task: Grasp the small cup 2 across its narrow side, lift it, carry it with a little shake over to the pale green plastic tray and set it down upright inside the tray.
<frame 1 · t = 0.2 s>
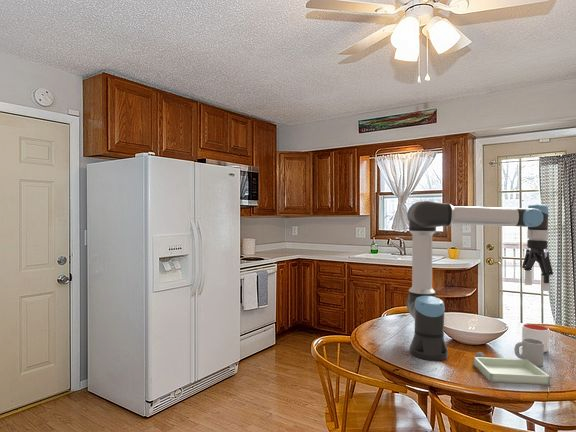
hand: (536, 287, 173), 27 cm above the table, fingers open, 13 cm apart
tray: (509, 374, 145), on the table
cup: (535, 350, 173), on the table
mixing ball: (480, 356, 158), point 2 cm above the table
cup 2: (528, 363, 157), on the table
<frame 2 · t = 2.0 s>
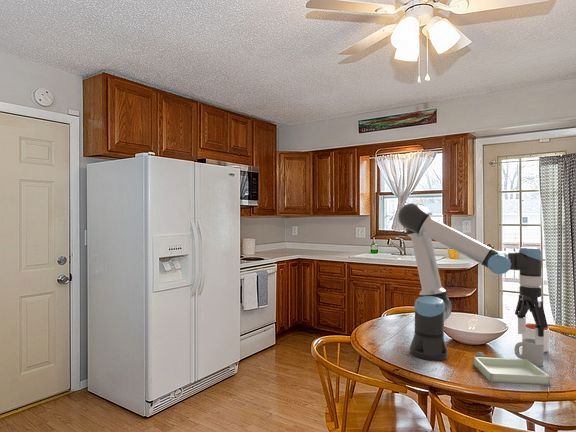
hand: (530, 339, 157), 10 cm above the table, fingers open, 13 cm apart
nothing on the table moved.
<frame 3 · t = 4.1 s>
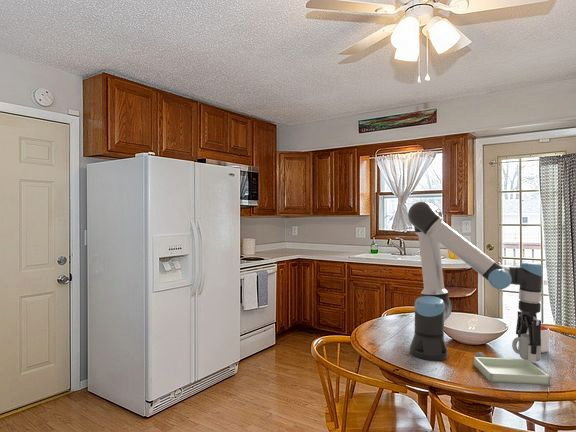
hand: (526, 357, 157), 2 cm above the table, fingers closed on cup 2, 7 cm apart
cup 2: (525, 358, 158), point 2 cm above the table, touching gripper
everything else where it was.
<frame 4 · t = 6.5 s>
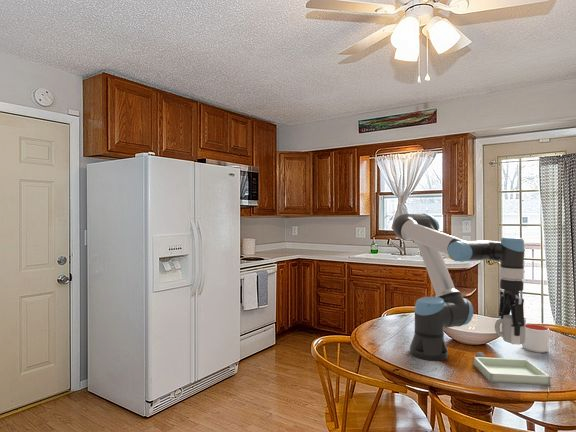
hand: (510, 340, 145), 13 cm above the table, fingers closed on cup 2, 7 cm apart
cup 2: (509, 341, 146), point 12 cm above the table, touching gripper
everything else where it was.
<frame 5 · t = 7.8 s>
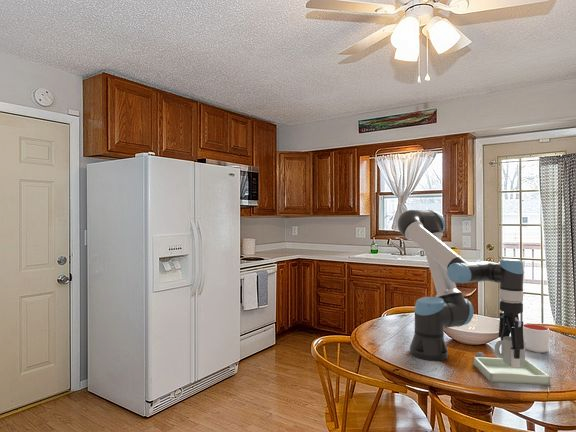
hand: (510, 362, 145), 4 cm above the table, fingers closed on cup 2, 7 cm apart
cup 2: (509, 363, 146), point 4 cm above the table, touching gripper
everything else where it was.
when the fingers open (2 cm above the table, at t = 8.8 s): cup 2 stays where it is, resting on tray.
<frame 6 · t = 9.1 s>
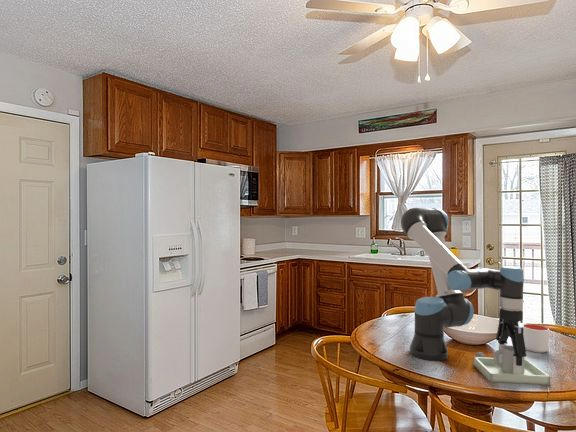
hand: (509, 367, 145), 3 cm above the table, fingers open, 11 cm apart
cup 2: (508, 372, 146), resting on tray
everything else where it was.
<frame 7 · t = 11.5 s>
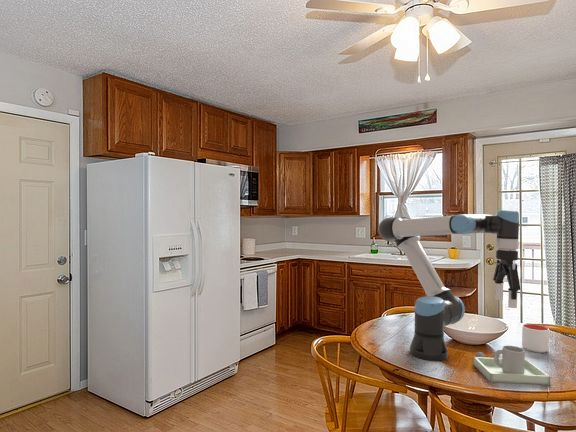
hand: (505, 303, 154), 24 cm above the table, fingers open, 13 cm apart
nothing on the table moved.
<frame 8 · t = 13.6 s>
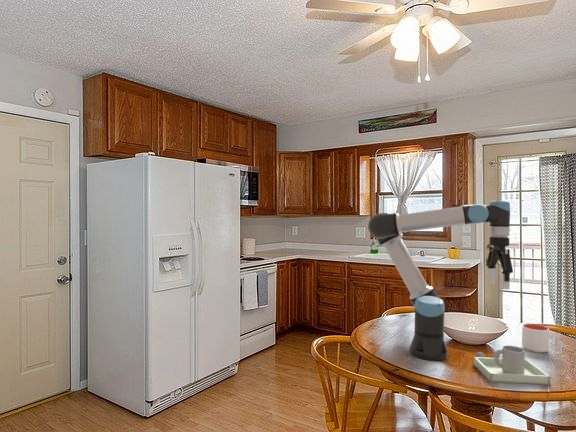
hand: (498, 286, 168), 29 cm above the table, fingers open, 13 cm apart
nothing on the table moved.
at the end: cup 2 inside the target area on the tray (0.5 cm from its centre), point 0.4 cm above the tray's base; cup 2 tilted 0°; the gripper is holding nothing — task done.
